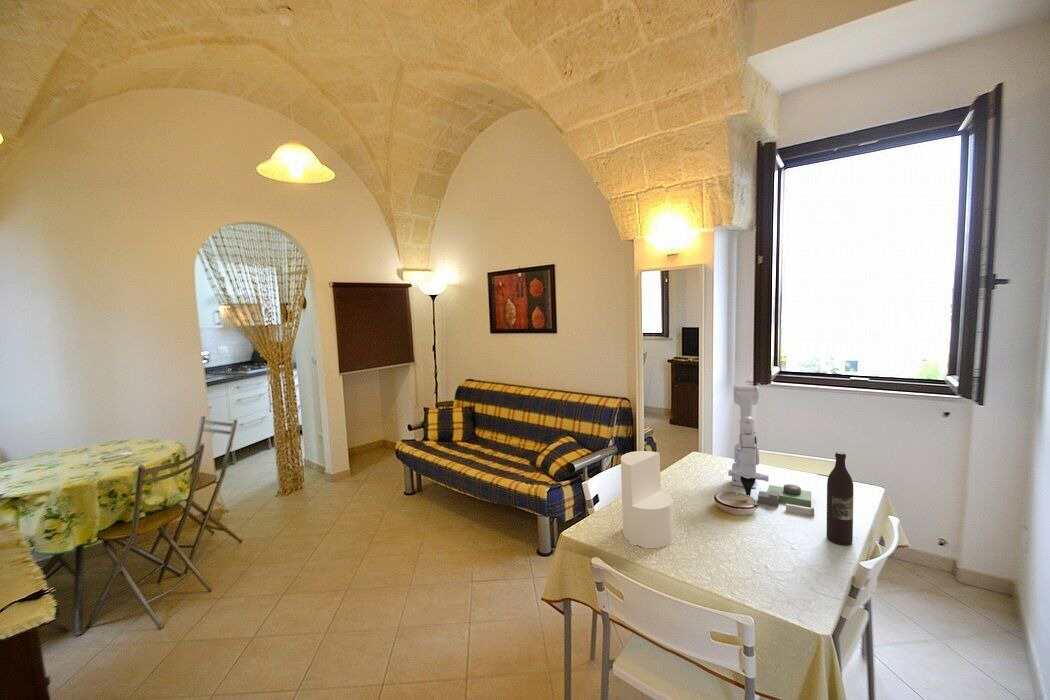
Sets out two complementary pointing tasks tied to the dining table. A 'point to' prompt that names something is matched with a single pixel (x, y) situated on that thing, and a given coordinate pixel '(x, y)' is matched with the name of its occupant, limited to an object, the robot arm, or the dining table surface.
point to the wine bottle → (840, 503)
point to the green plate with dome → (795, 499)
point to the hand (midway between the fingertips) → (748, 495)
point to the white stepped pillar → (645, 501)
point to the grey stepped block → (769, 498)
